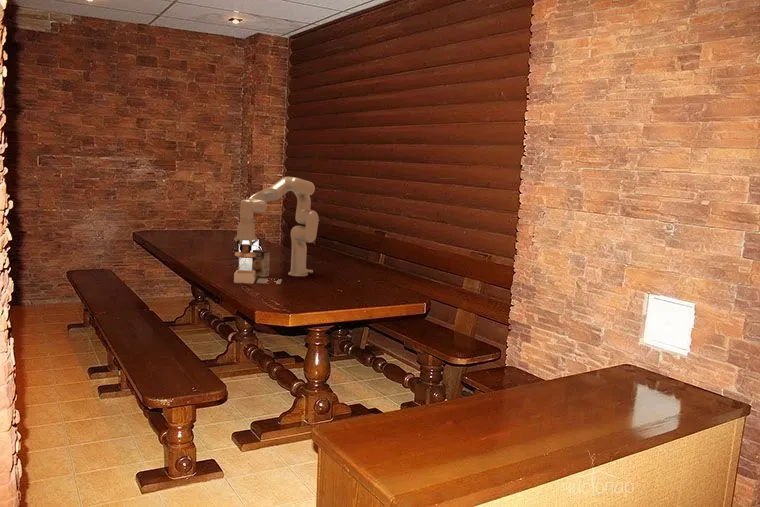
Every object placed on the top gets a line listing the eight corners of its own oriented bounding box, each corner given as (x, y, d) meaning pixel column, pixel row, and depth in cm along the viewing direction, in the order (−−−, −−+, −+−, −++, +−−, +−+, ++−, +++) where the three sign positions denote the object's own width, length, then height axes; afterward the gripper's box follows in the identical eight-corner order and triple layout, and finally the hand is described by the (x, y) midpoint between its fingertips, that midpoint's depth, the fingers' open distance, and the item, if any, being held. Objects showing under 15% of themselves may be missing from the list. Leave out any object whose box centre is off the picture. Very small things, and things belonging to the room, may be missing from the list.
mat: (281, 279, 383) (281, 279, 383) (280, 284, 369) (280, 283, 369) (258, 278, 381) (258, 278, 381) (256, 283, 368) (256, 282, 368)
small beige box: (255, 280, 376) (255, 270, 375) (253, 284, 365) (253, 274, 364) (236, 279, 375) (236, 269, 374) (233, 283, 364) (234, 273, 363)
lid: (256, 254, 374) (257, 243, 373) (254, 257, 362) (255, 246, 361) (236, 253, 373) (236, 242, 372) (233, 256, 361) (233, 245, 360)
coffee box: (251, 275, 391) (252, 250, 388) (257, 274, 396) (258, 249, 394) (262, 277, 386) (263, 251, 384) (269, 276, 392) (270, 250, 390)
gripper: (261, 221, 369) (260, 251, 372) (232, 219, 368) (231, 250, 370) (260, 222, 362) (259, 253, 364) (230, 220, 360) (230, 252, 363)
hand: (245, 251), depth 367 cm, fingers closed on lid, 4 cm apart
